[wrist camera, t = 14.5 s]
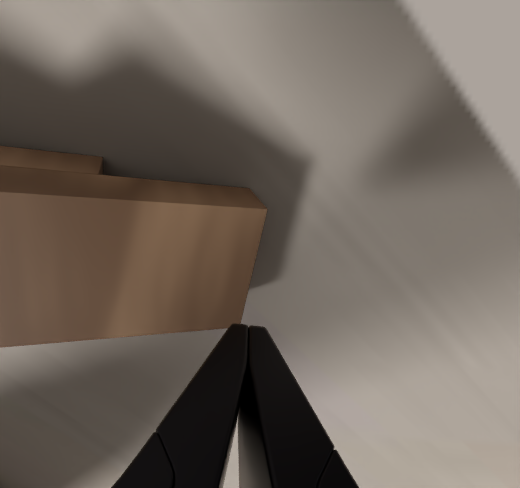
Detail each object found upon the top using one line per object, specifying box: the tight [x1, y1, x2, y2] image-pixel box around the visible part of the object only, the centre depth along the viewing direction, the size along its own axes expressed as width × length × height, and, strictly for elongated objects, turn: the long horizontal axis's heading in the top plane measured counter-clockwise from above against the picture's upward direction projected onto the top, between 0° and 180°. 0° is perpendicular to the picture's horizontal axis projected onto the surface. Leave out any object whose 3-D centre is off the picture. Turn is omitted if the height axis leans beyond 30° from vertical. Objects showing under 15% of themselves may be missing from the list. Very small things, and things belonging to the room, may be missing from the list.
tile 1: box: [0, 166, 268, 347], centre depth 10 cm, size 2×5×8 cm
